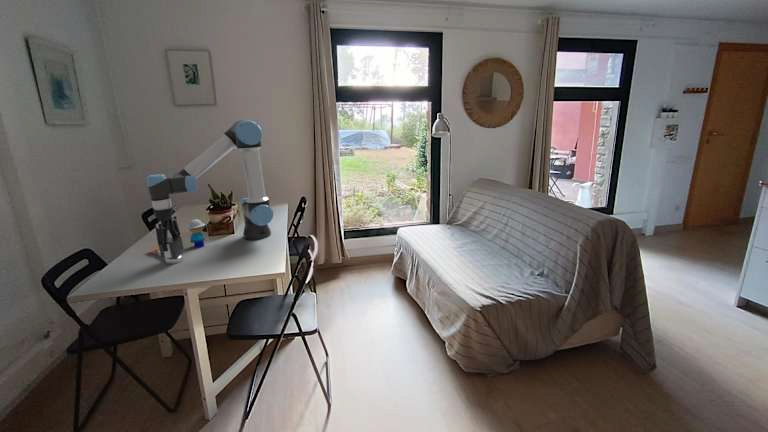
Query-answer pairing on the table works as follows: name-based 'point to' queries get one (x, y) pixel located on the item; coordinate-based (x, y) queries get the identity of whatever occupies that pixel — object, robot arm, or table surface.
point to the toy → (197, 232)
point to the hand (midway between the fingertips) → (173, 253)
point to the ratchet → (168, 259)
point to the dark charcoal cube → (173, 246)
